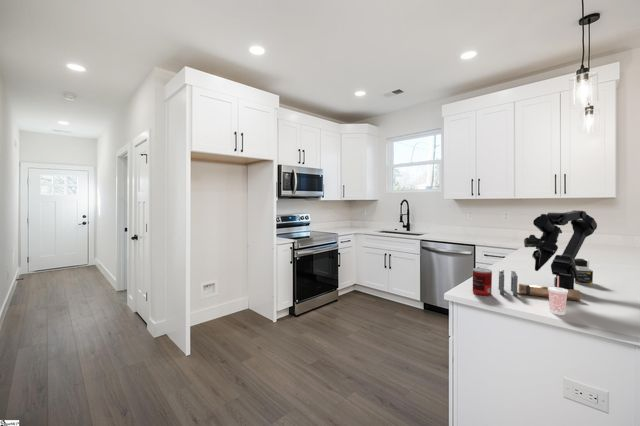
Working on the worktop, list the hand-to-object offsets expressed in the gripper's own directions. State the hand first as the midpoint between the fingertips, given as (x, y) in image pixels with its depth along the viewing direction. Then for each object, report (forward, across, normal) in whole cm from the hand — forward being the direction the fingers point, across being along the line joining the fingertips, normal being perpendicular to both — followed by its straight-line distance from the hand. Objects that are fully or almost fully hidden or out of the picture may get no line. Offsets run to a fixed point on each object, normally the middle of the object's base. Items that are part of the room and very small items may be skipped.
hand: (538, 268), depth 132 cm
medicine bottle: (-11, -36, +22) cm, 43 cm away
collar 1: (+15, -5, -10) cm, 19 cm away
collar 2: (+14, -5, -5) cm, 15 cm away
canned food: (+21, +1, -16) cm, 26 cm away
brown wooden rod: (+10, -4, +7) cm, 13 cm away
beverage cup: (+18, +14, +9) cm, 24 cm away
